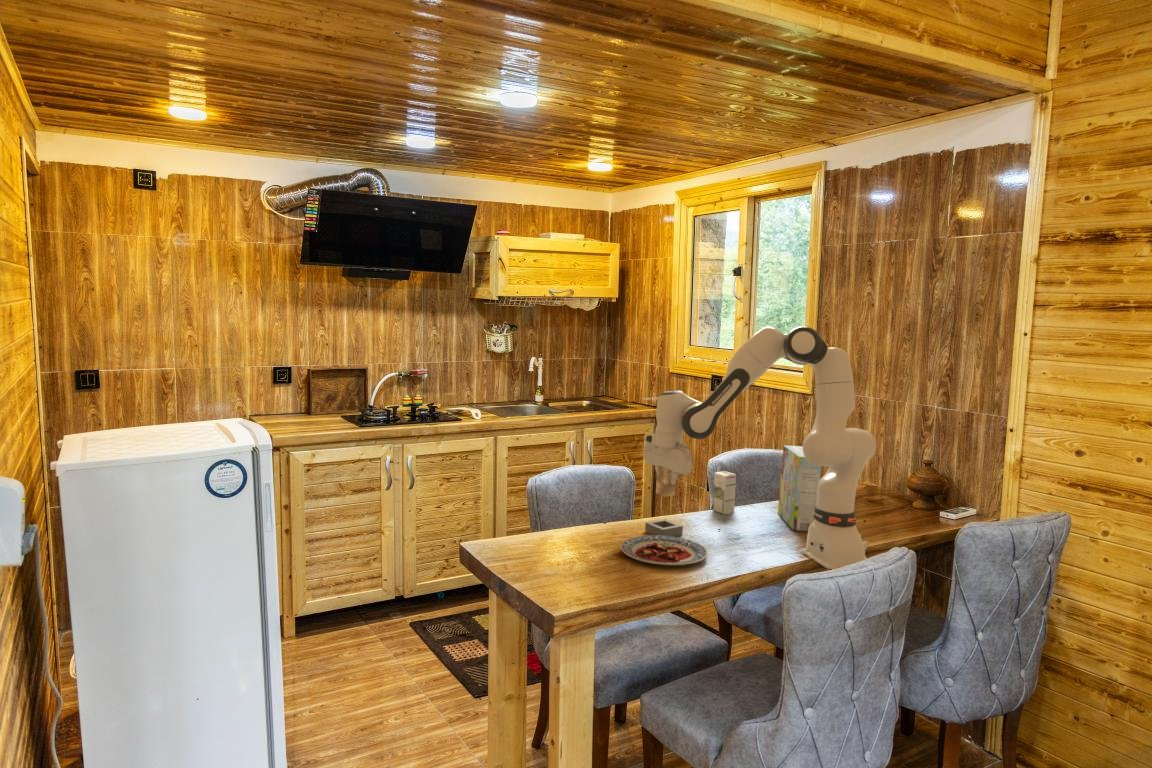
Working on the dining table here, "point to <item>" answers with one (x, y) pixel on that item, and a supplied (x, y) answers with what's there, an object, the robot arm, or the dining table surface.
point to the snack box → (798, 488)
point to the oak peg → (664, 482)
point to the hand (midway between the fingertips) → (666, 481)
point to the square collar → (664, 528)
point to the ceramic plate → (664, 550)
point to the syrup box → (724, 492)
